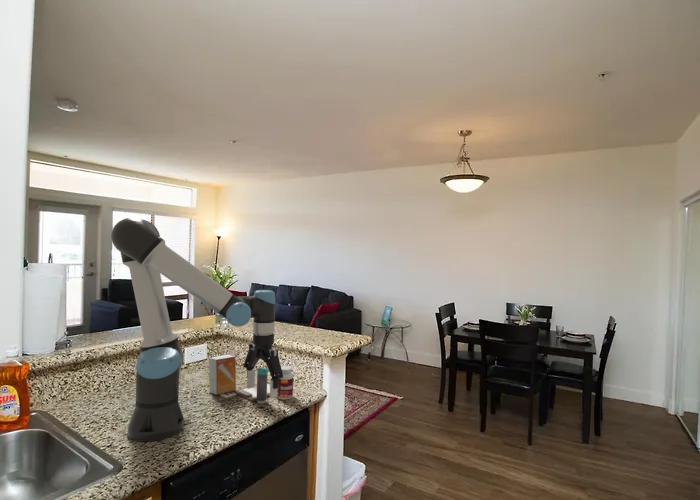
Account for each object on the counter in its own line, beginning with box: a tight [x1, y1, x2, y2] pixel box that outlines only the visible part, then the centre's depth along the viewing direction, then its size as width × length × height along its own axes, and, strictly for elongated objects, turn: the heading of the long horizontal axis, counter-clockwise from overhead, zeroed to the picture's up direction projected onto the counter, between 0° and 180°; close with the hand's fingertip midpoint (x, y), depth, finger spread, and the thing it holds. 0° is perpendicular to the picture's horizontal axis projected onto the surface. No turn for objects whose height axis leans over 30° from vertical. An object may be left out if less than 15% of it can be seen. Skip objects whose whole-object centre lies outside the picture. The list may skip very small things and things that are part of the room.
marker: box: [256, 367, 269, 405], centre depth 142 cm, size 4×4×12 cm
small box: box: [208, 354, 237, 395], centre depth 151 cm, size 8×6×13 cm
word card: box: [218, 391, 238, 399], centre depth 149 cm, size 7×5×1 cm
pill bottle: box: [276, 365, 294, 401], centre depth 148 cm, size 6×6×11 cm
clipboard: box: [232, 381, 270, 403], centre depth 152 cm, size 16×13×1 cm
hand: (261, 392), depth 142 cm, fingers open, 12 cm apart
